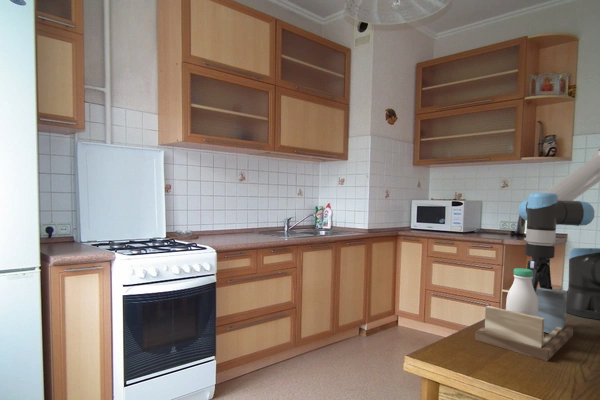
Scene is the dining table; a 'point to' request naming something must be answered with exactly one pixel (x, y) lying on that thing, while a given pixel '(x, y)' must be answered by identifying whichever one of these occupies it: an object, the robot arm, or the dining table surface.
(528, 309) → the milk bottle
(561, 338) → the dark wooden tray
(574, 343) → the dining table surface
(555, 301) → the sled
